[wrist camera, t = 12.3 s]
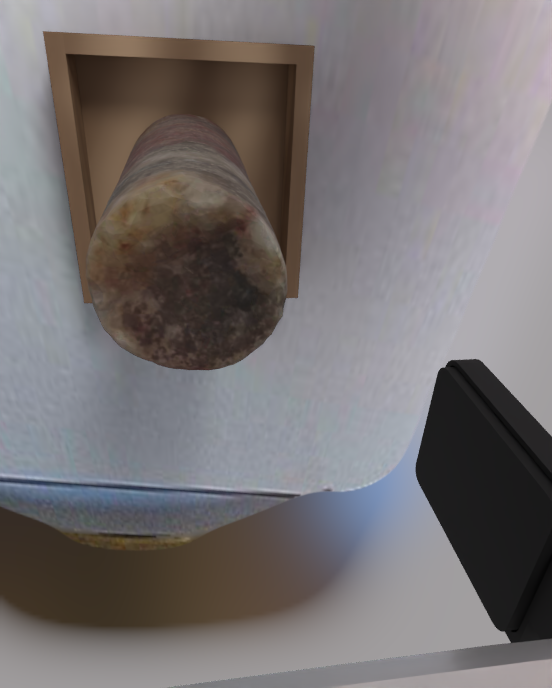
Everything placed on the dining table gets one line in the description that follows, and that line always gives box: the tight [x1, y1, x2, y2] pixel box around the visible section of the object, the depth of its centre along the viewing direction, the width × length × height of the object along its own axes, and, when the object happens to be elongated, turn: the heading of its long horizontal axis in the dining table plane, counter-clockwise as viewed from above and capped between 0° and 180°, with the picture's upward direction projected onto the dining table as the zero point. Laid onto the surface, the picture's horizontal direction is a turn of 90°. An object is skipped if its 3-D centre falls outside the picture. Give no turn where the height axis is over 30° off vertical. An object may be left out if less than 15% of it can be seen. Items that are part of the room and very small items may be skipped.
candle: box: [86, 114, 287, 370], centre depth 26 cm, size 8×7×20 cm
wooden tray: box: [43, 31, 314, 303], centre depth 34 cm, size 15×16×4 cm
